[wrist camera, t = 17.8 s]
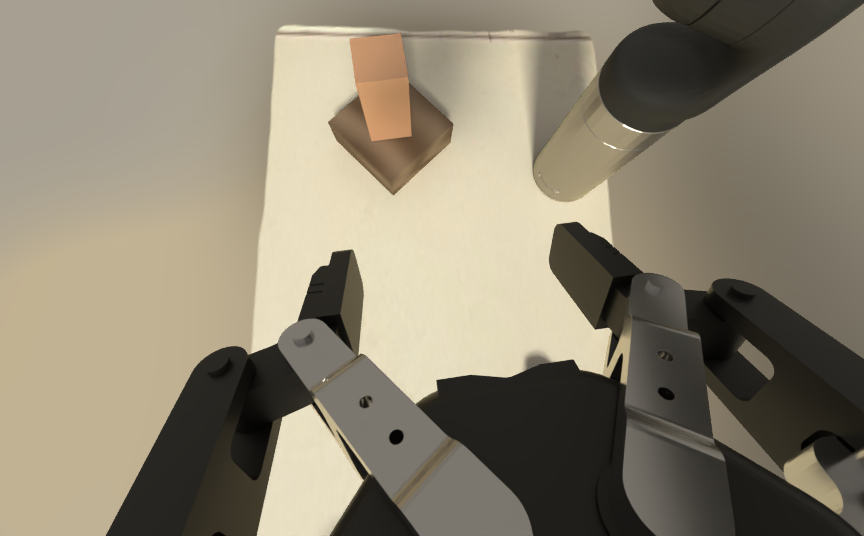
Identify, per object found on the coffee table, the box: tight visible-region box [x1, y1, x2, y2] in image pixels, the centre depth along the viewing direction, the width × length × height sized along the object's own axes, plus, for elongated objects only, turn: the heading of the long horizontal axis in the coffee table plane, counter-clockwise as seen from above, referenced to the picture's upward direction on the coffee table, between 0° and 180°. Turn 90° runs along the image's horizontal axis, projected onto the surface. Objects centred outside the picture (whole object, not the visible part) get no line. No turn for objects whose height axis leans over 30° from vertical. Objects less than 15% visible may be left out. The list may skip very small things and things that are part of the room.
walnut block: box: [328, 84, 453, 195], centre depth 44 cm, size 12×12×5 cm
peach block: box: [350, 33, 412, 141], centre depth 37 cm, size 5×5×10 cm
